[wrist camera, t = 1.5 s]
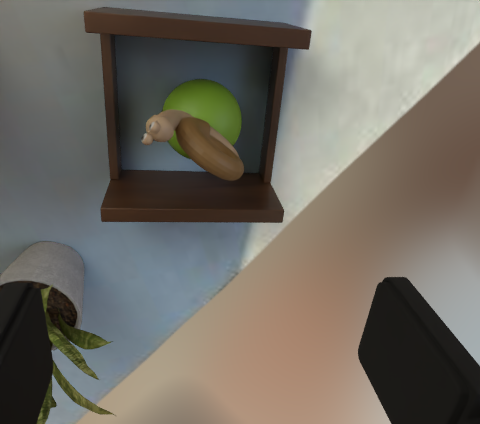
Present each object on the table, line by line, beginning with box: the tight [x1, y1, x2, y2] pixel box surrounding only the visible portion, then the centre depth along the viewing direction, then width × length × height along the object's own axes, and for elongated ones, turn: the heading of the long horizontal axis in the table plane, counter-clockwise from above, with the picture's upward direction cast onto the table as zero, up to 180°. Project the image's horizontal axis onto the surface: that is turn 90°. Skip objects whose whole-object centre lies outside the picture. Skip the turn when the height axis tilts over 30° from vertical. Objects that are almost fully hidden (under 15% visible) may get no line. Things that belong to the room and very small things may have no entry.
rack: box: [84, 7, 312, 223], centre depth 27 cm, size 12×12×6 cm
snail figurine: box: [141, 79, 244, 181], centre depth 25 cm, size 5×6×12 cm
